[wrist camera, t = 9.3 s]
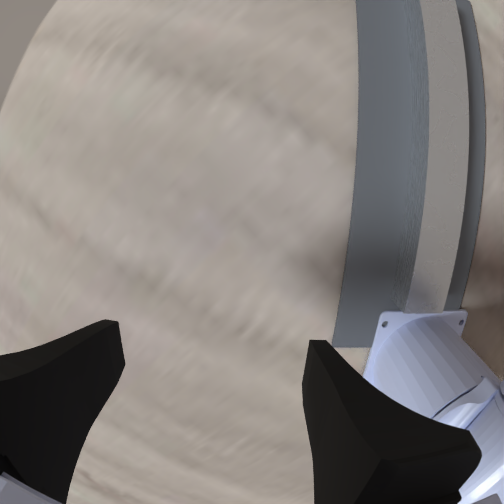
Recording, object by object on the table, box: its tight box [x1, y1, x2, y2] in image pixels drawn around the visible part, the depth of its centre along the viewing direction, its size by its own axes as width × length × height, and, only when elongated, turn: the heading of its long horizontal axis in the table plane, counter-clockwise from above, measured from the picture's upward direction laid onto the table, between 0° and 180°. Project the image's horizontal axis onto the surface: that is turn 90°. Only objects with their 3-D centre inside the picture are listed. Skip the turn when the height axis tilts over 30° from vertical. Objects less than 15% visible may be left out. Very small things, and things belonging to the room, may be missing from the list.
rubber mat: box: [332, 0, 485, 347], centre depth 17 cm, size 28×10×1 cm, turn 177°
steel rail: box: [390, 0, 469, 314], centre depth 15 cm, size 22×3×2 cm, turn 177°
